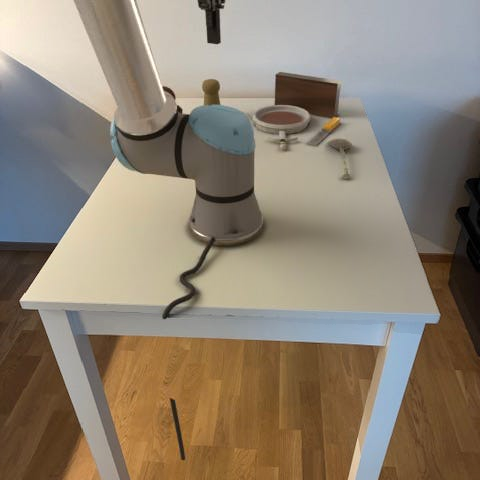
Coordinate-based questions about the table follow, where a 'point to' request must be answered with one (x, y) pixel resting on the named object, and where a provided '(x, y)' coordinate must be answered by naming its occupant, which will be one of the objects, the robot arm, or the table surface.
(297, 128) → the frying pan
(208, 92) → the cork
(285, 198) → the table surface
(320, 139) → the knife
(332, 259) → the table surface
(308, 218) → the table surface
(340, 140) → the soupspoon
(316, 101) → the wooden block
